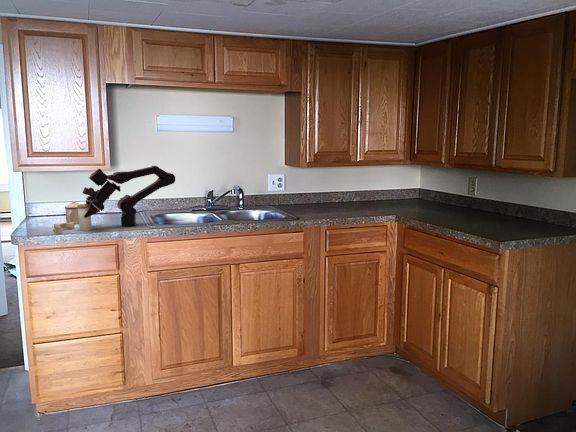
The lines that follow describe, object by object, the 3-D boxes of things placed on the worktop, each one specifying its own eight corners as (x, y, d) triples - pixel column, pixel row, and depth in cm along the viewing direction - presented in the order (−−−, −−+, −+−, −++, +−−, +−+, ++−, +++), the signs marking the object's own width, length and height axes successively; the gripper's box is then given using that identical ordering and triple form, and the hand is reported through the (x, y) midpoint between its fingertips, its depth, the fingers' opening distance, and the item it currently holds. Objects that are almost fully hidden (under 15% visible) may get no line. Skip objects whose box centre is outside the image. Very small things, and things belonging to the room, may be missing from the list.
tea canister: (93, 228, 250) (92, 203, 248) (90, 230, 244) (88, 205, 242) (81, 228, 249) (79, 204, 247) (77, 230, 243) (75, 205, 241)
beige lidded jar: (70, 221, 269) (68, 200, 267) (87, 221, 269) (85, 199, 267) (60, 225, 257) (59, 203, 255) (78, 225, 257) (77, 202, 256)
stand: (74, 228, 249) (73, 222, 249) (77, 232, 239) (77, 226, 239) (54, 230, 245) (53, 224, 244) (56, 234, 235) (56, 227, 234)
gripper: (89, 179, 253) (67, 203, 249) (95, 182, 237) (72, 207, 233) (106, 194, 258) (84, 217, 254) (114, 198, 242) (91, 223, 238)
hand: (82, 216), depth 245 cm, fingers open, 9 cm apart
